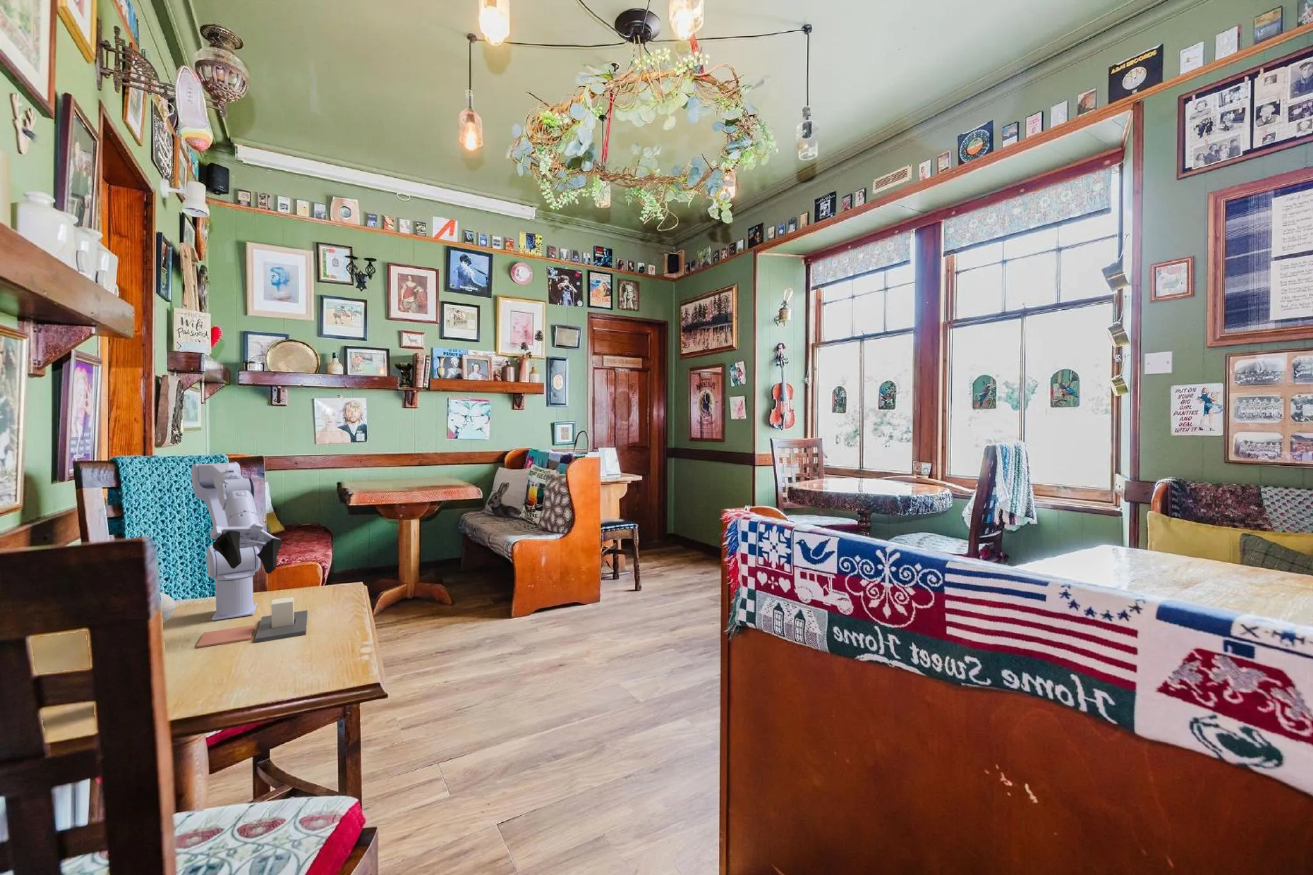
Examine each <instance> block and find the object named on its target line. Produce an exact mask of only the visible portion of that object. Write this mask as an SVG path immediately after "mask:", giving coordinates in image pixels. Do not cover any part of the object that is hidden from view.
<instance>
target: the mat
mask: <svg viewBox="0 0 1313 875" xmlns="http://www.w3.org/2000/svg"><path fill="white" fill-rule="evenodd" d="M255 628H256V625H255V624H253V625H252V624H251V625H246V626H238V627H233V628H232V627H231V628H226V629H219V630H218V629H217V630H212V631H206V632H203V634H202V636H201V638H200V639H199V641H198V643H197V644H196V647H195V648H196V649H199V647H201V648H206V647H212V646H211V645H214V646H219V644H220V645H225V644H231V643H238V642H244V641H251V639H252V637H253V633H254V631H255Z"/></svg>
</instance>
